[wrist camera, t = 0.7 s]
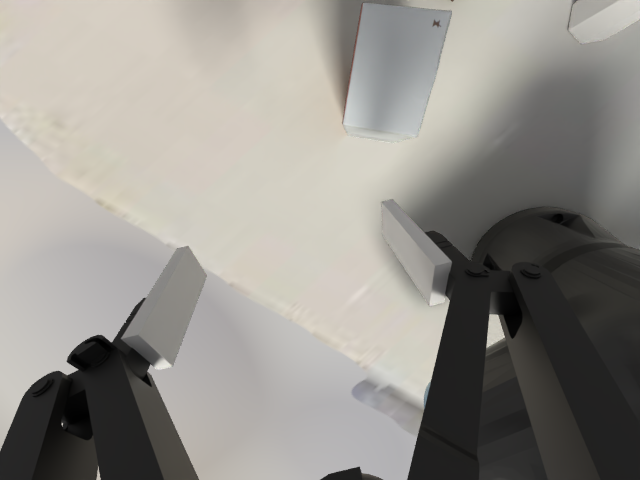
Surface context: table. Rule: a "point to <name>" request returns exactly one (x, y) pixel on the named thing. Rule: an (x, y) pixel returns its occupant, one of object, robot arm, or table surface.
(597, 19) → the pepper shaker
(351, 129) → the small box
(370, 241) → the table surface
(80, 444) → the robot arm
